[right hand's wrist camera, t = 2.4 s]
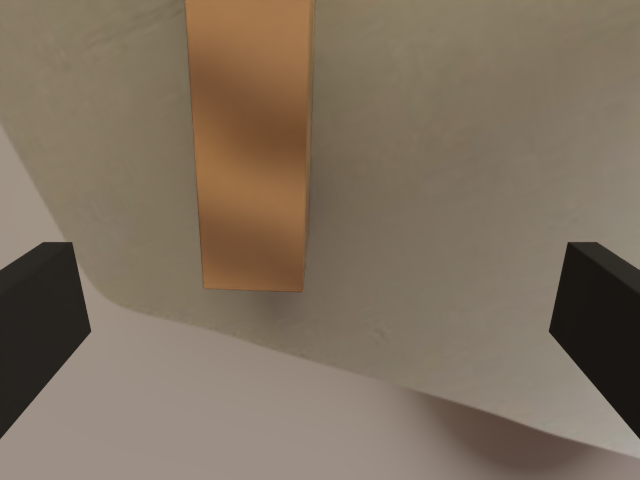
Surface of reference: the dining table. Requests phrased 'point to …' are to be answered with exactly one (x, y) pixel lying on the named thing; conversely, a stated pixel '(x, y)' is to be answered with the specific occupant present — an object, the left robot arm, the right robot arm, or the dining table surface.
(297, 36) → the beam
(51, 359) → the right robot arm
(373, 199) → the dining table surface
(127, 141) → the dining table surface
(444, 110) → the dining table surface
